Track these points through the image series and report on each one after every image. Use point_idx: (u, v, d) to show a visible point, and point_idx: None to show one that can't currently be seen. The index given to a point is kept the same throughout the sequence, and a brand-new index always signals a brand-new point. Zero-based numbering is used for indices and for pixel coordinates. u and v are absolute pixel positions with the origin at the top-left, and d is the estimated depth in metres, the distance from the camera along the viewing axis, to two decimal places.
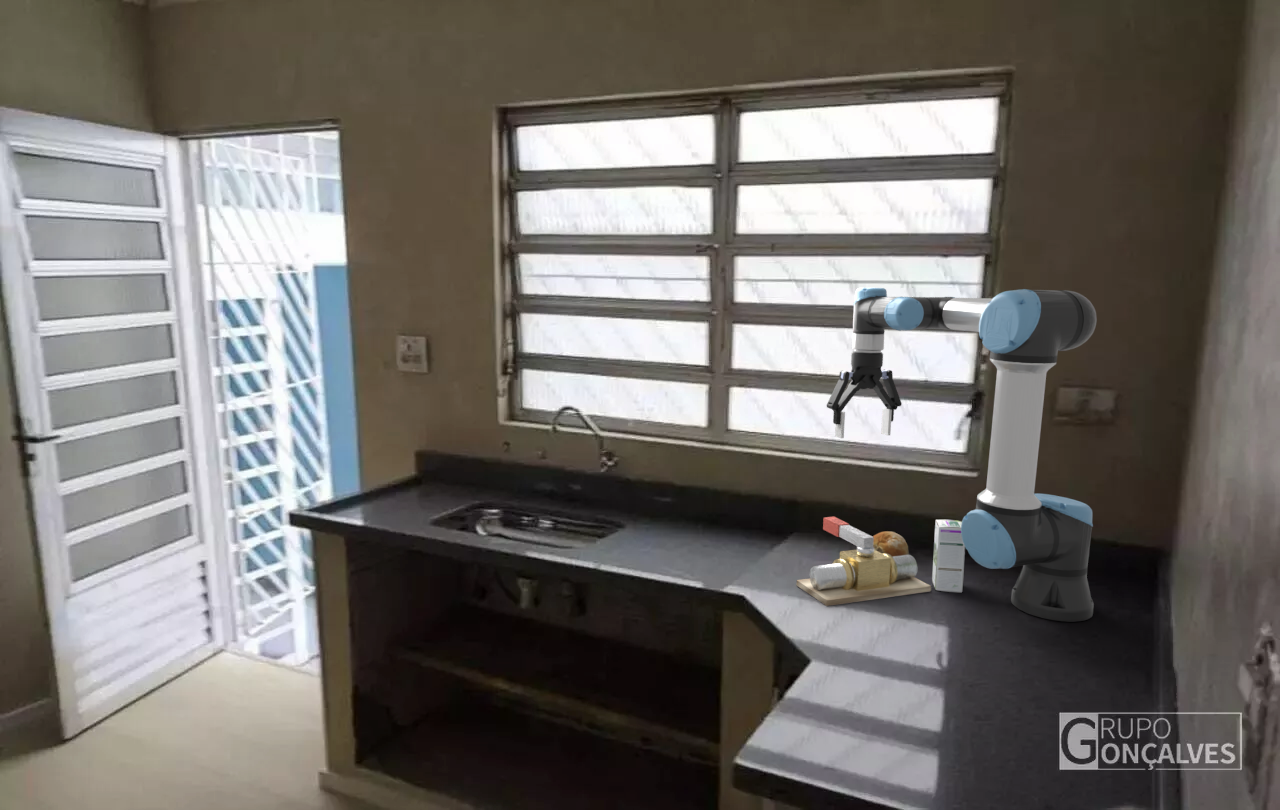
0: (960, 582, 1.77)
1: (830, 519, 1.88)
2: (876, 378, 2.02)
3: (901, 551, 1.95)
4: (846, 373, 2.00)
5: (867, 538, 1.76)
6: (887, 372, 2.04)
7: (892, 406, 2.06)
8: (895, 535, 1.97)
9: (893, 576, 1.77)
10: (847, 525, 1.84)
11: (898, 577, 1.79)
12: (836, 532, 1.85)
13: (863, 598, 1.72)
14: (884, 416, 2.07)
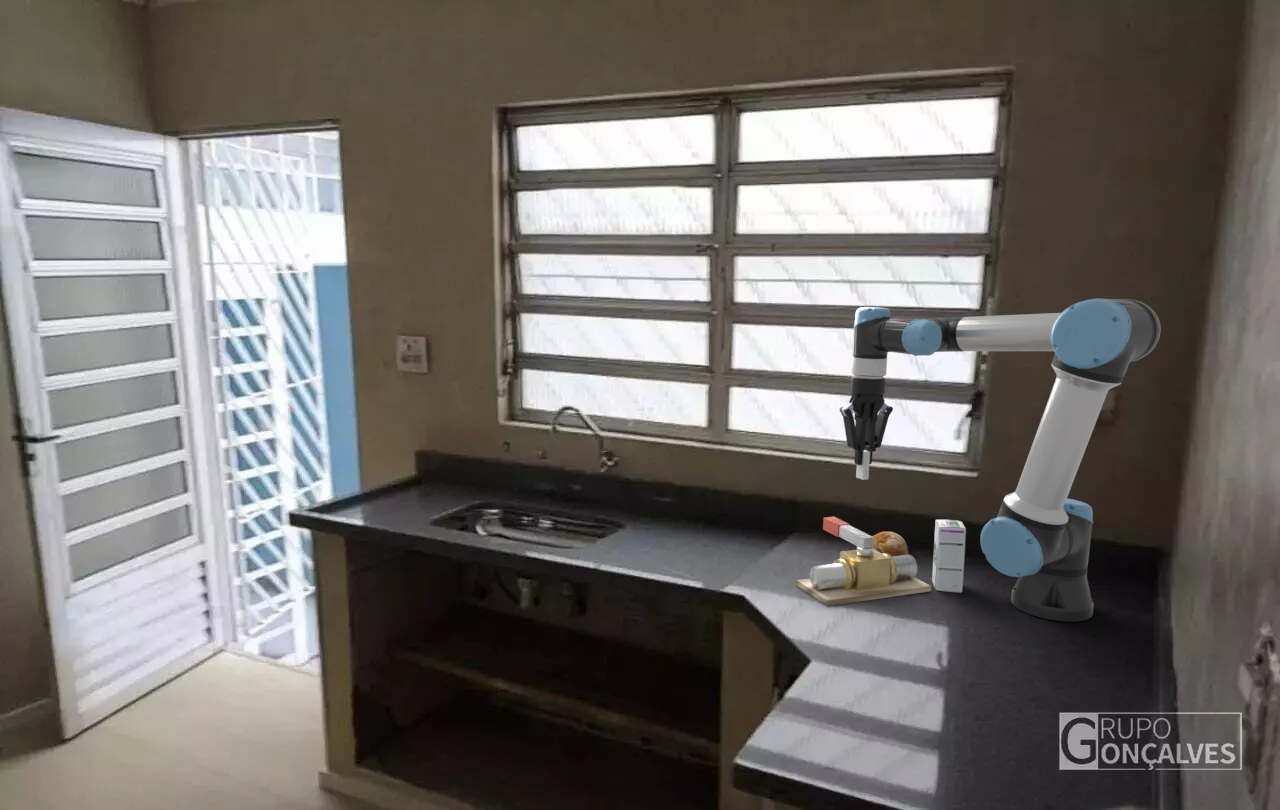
0: (960, 582, 1.77)
1: (830, 519, 1.88)
2: (877, 407, 1.85)
3: (901, 551, 1.95)
4: (846, 411, 1.83)
5: (867, 538, 1.76)
6: (888, 407, 1.88)
7: (871, 447, 1.87)
8: (894, 535, 1.97)
9: (893, 576, 1.77)
10: (847, 525, 1.84)
11: (898, 577, 1.79)
12: (836, 532, 1.85)
13: (863, 598, 1.72)
14: None
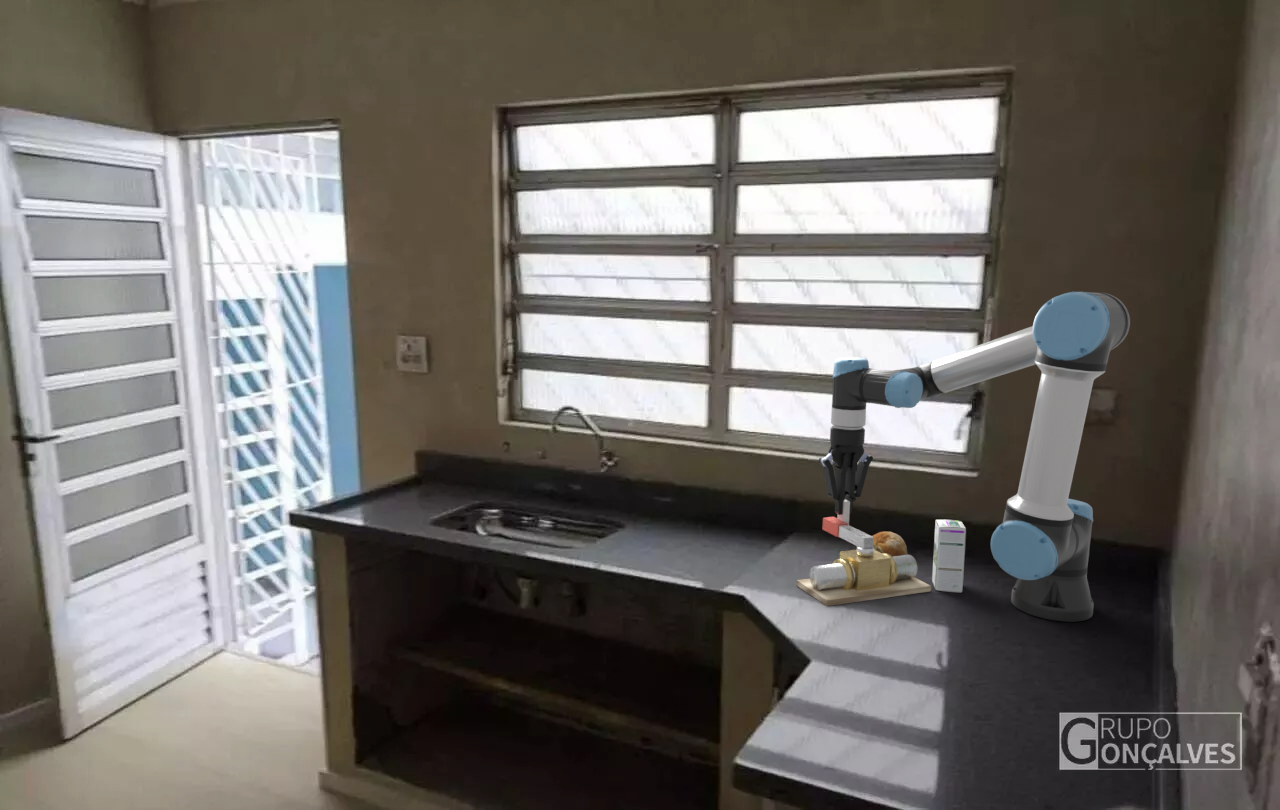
0: (960, 582, 1.77)
1: (830, 519, 1.88)
2: (856, 457, 1.85)
3: (900, 551, 1.95)
4: (825, 462, 1.83)
5: (867, 538, 1.76)
6: (868, 456, 1.87)
7: (851, 496, 1.87)
8: (894, 535, 1.97)
9: (893, 576, 1.77)
10: (847, 525, 1.84)
11: (898, 577, 1.79)
12: (836, 532, 1.85)
13: (863, 598, 1.72)
14: None
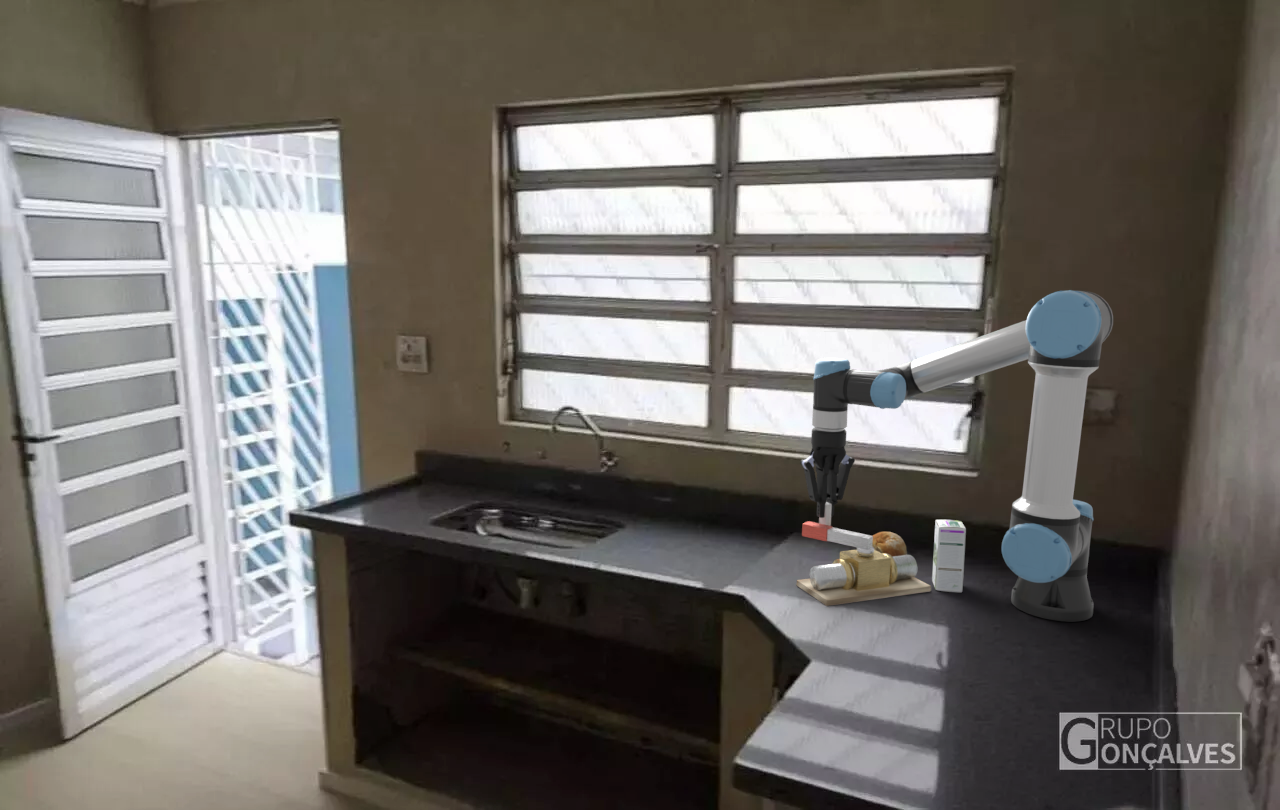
0: (960, 582, 1.77)
1: (811, 524, 1.84)
2: (838, 459, 1.82)
3: (899, 551, 1.95)
4: (806, 464, 1.80)
5: (869, 538, 1.76)
6: (850, 458, 1.84)
7: (833, 499, 1.84)
8: (893, 535, 1.97)
9: (893, 576, 1.77)
10: (833, 528, 1.82)
11: (898, 577, 1.79)
12: (824, 537, 1.82)
13: (863, 598, 1.72)
14: None
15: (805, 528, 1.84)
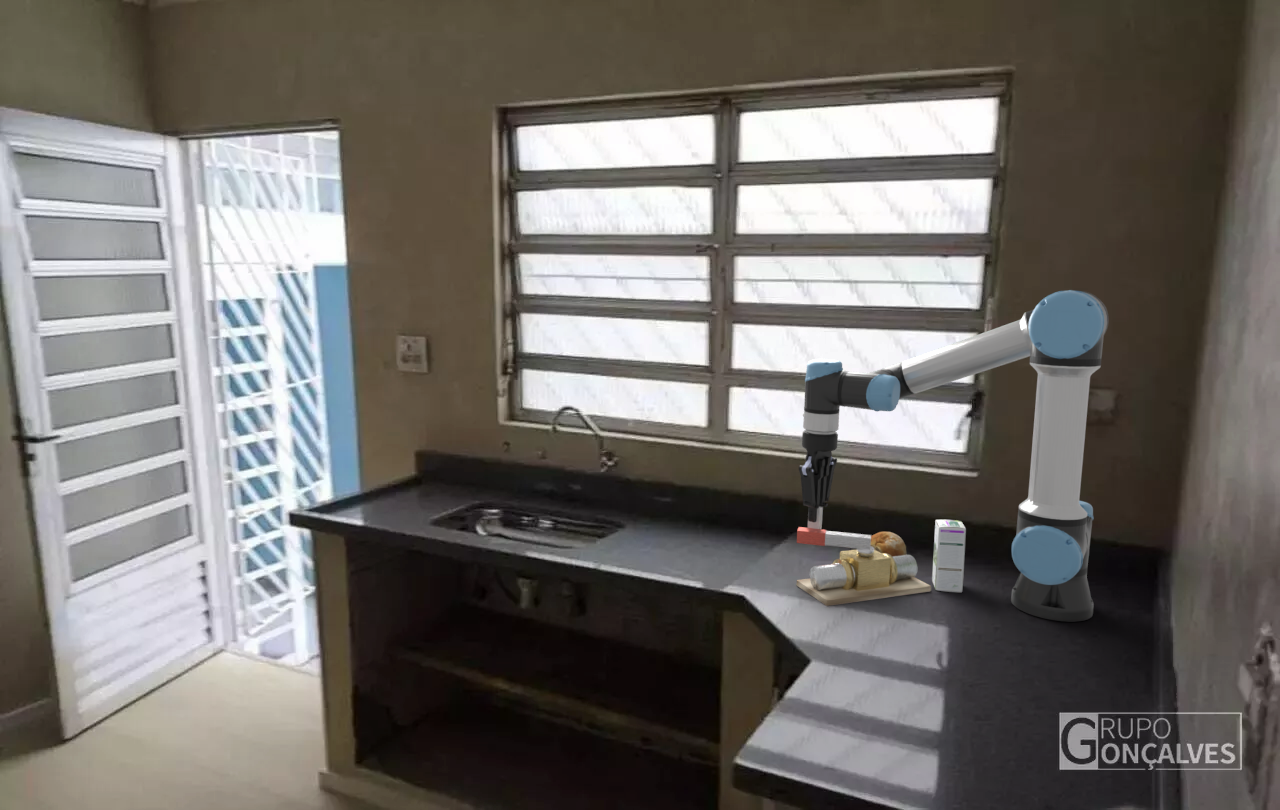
0: (960, 582, 1.77)
1: (805, 530, 1.80)
2: (829, 461, 1.80)
3: (899, 551, 1.95)
4: (809, 470, 1.75)
5: (870, 537, 1.76)
6: (833, 459, 1.83)
7: (823, 502, 1.81)
8: (893, 535, 1.97)
9: (893, 576, 1.77)
10: (828, 531, 1.80)
11: (898, 577, 1.79)
12: (822, 541, 1.78)
13: (863, 598, 1.72)
14: None
15: (800, 535, 1.80)
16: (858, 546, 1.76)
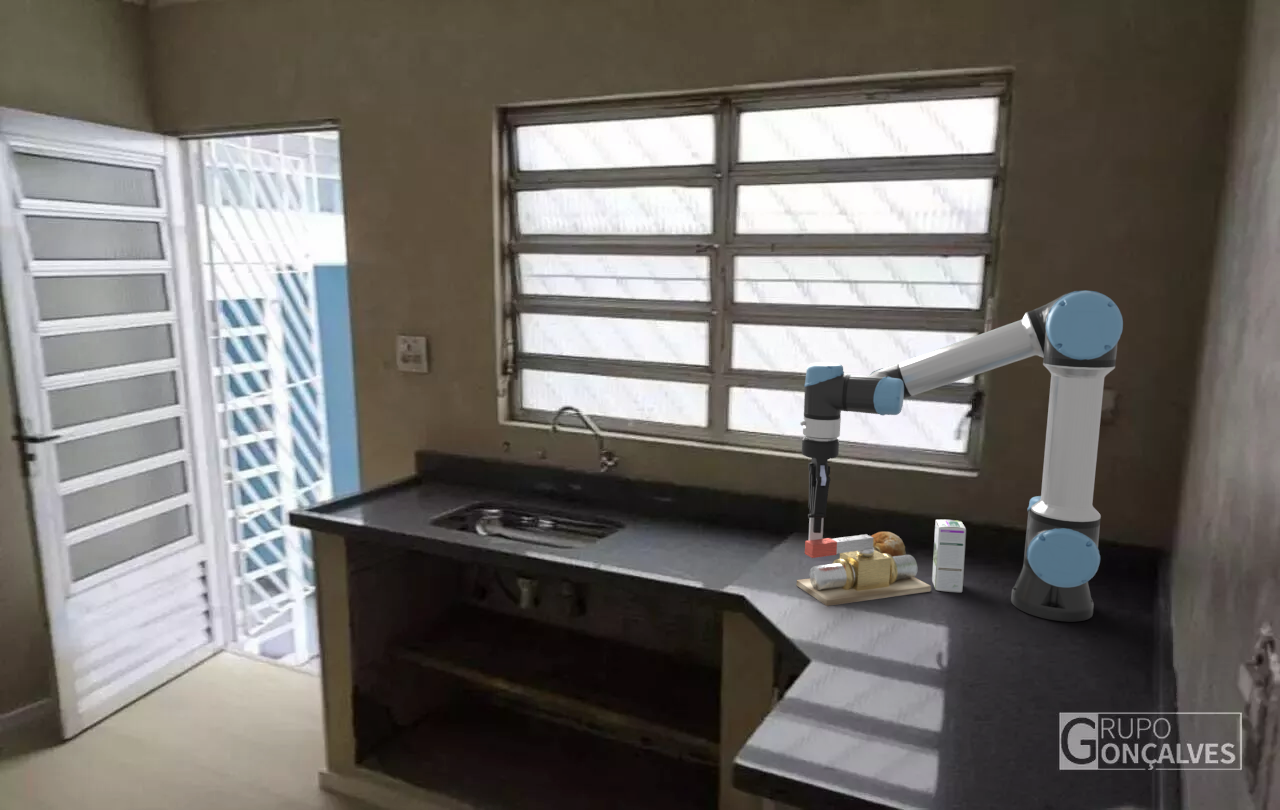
0: (960, 582, 1.77)
1: (818, 543, 1.71)
2: None
3: (898, 551, 1.95)
4: (829, 480, 1.67)
5: None
6: None
7: None
8: (892, 535, 1.97)
9: (893, 576, 1.77)
10: (833, 539, 1.74)
11: (898, 577, 1.79)
12: (834, 550, 1.72)
13: (863, 598, 1.72)
14: (814, 525, 1.75)
15: (815, 548, 1.71)
16: (863, 547, 1.76)
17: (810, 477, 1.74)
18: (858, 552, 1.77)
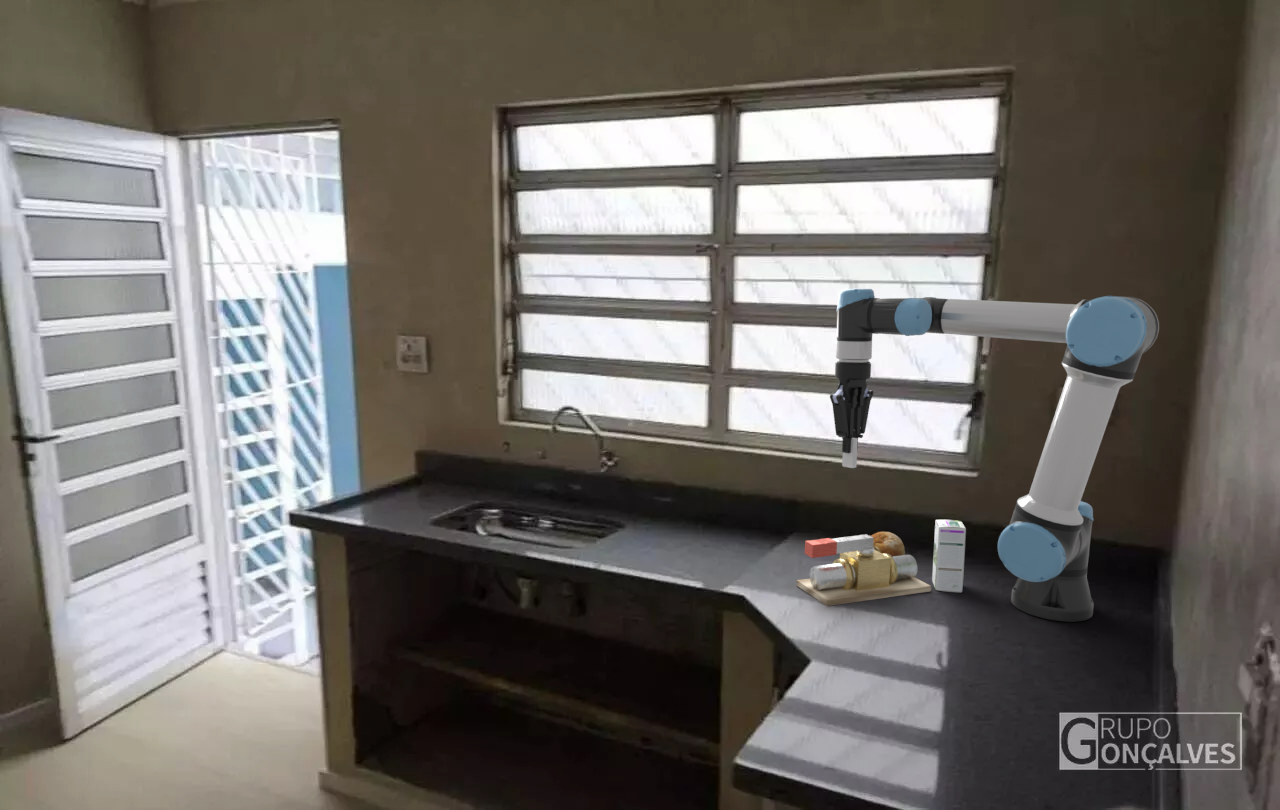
0: (960, 582, 1.77)
1: (818, 543, 1.71)
2: (863, 391, 1.79)
3: (898, 551, 1.95)
4: (839, 398, 1.75)
5: None
6: (869, 391, 1.82)
7: (858, 433, 1.81)
8: (891, 535, 1.97)
9: (893, 576, 1.77)
10: (833, 539, 1.74)
11: (898, 577, 1.79)
12: (834, 550, 1.72)
13: (863, 598, 1.72)
14: None
15: (815, 548, 1.71)
16: (863, 547, 1.76)
17: None
18: (858, 552, 1.77)
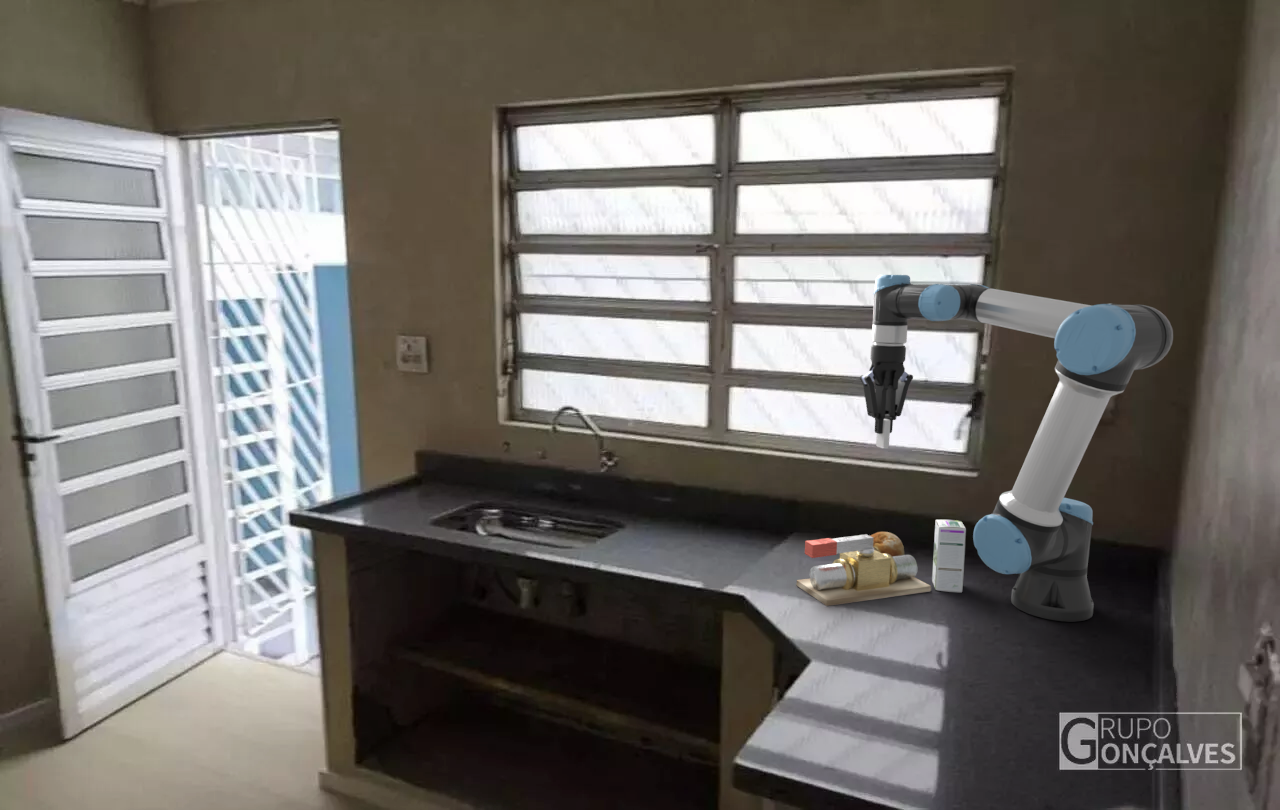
0: (960, 582, 1.77)
1: (818, 543, 1.71)
2: (897, 375, 1.84)
3: (897, 551, 1.95)
4: (867, 379, 1.83)
5: None
6: (908, 375, 1.87)
7: (891, 415, 1.86)
8: (891, 535, 1.97)
9: (893, 576, 1.77)
10: (833, 539, 1.74)
11: (898, 577, 1.79)
12: (834, 550, 1.72)
13: (863, 598, 1.72)
14: None
15: (815, 548, 1.71)
16: (863, 547, 1.76)
17: None
18: (858, 552, 1.77)
